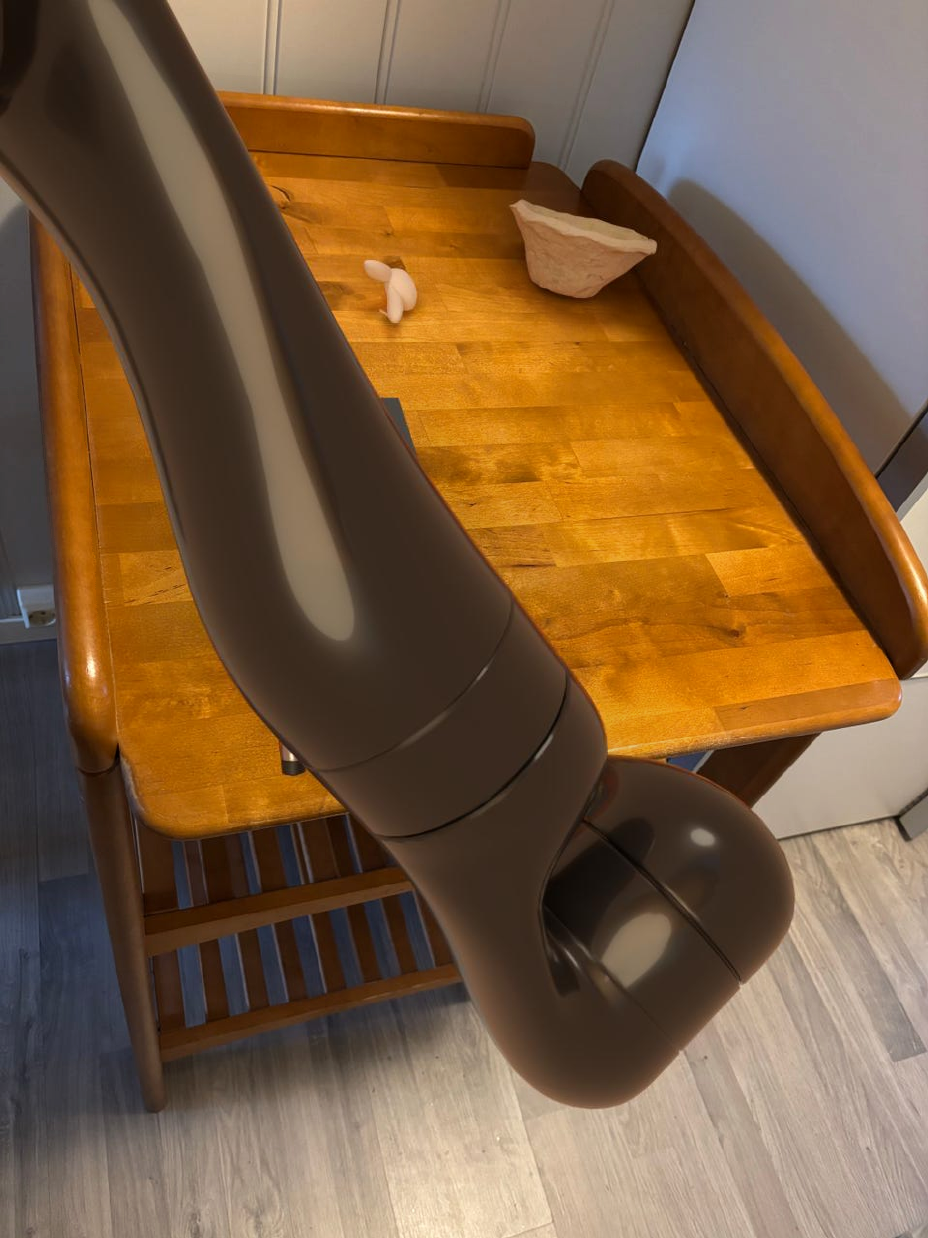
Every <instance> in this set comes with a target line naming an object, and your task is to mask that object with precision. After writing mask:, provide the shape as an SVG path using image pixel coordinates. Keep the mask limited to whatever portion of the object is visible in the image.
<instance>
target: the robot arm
mask: <svg viewBox="0 0 928 1238" xmlns="http://www.w3.org/2000/svg"><path fill="white" fill-rule="evenodd" d="M244 142H245V141H244V140H243V138H242V136H241V135H240V133H239V131H238V129H237V127H236V125H235V123H234V122H233V120H232V118H231V116H230V114H229V113H228V111H227V109H226V108H225V105H224V103H223V101H222V99H221V98H220V96H219V95H218V93H217V90H216V89H215V87H214V85H213V84H212V82H211V80H210V78H209V77H208V75H207V73H206V71H205V69H204V67H203V64H201V62H200V60H199V58H198V56H197V54H196V52H195V51H194V49H193V46H192V44H191V43H190V41H189V39H188V37H187V35H186V34H185V32H184V30H183V28H182V25H181V24H180V22H179V20H178V18H177V17H176V14H175V12H174V11H173V8H172V7H171V5H170V3H169V1H168V0H0V178H1V179H2V180H3V181H4V182H5V183H6V184H7V186H8V187H9V188H10V189H11V190H12V191H13V193H15V194H16V195H17V197H18V198H19V199H20V200H21V201H22V202H23V204H25V206H26V207H27V208H28V209H29V210H30V211H31V213H32V214H33V215H34V217H35V218H36V219H37V220H38V221H39V223H40V224H41V225H42V227H43V228H44V229H45V231H46V232H47V233H48V234H49V235H50V236H51V238H52V240H53V241H54V242H55V244H56V246H58V248H59V249H60V251H61V252H62V254H63V255H64V256H65V257H64V258H65V259H66V260H67V261H68V262H69V264H70V265H71V267H72V269H73V270H74V272H75V274H76V275H77V277H78V279H79V281H80V282H81V285H82V286H83V287H84V290H85V291H86V293H87V295H88V296H89V298H90V300H91V301H92V303H93V305H94V307H95V309H96V311H97V313H98V315H99V317H100V319H101V321H102V323H103V325H104V327H105V330H106V331H107V333H108V335H109V338H110V341H111V343H112V345H113V347H114V350H115V352H116V355H117V357H118V360H119V363H120V365H121V367H122V370H123V372H124V375H125V379H126V381H127V383H128V386H129V388H130V390H131V394H132V396H133V399H134V402H135V405H136V409H137V413H138V416H139V419H140V422H141V425H142V428H143V431H144V435H145V437H146V441H147V444H148V447H149V450H150V455H151V457H152V460H153V464H154V467H155V470H156V475H157V478H158V483H159V487H160V491H161V493H162V498H163V501H164V504H165V508H166V512H167V517H168V519H169V520H168V521H169V523H170V527H171V530H172V534H173V537H174V541H175V544H176V547H177V551H178V555H179V558H180V561H181V564H182V568H183V571H184V575H185V578H186V582H187V585H188V589H189V592H190V595H191V597H192V600H193V602H194V605H195V609H196V611H197V612H198V616H199V619H200V621H201V624H202V625H203V628H204V630H205V632H206V635H207V637H208V640H209V641H210V643H211V646H212V648H213V650H214V652H215V653H216V655H217V657H218V659H219V661H220V663H221V665H222V666H223V669H224V670H225V672H226V674H227V676H228V677H229V679H230V680H231V682H232V683H233V685H234V686H235V688H236V689H237V690H238V692H239V694H240V695H241V697H242V698H243V699H244V701H245V703H246V704H247V705H248V706H249V707H250V709H251V710H252V712H254V714H256V717H258V718H259V719H260V721H261V722H262V723H263V724H264V725H265V727H266V728H267V729H268V731H269V732H270V733H271V734H272V735H273V736H274V737H275V739H277V740H278V747H279V759H280V765H281V773H282V775H285V776H290V777H297V776H299V775H303V774H305V773H306V772H307V771H308V773H309V774H311V775H312V776H313V777H314V779H315V780H317V781H318V782H319V784H320V785H321V786H323V788H324V789H325V790H326V791H328V793H329V794H330V795H331V796H332V797H333V798H334V799H335V800H336V801H337V802H338V803H339V804H340V805H341V806H342V807H343V809H345V810H346V811H347V812H348V813H349V814H350V815H351V816H352V817H353V818H354V820H355V821H356V822H358V823H359V824H360V826H362V827H363V829H364V830H365V831H366V832H367V833H368V834H369V835H370V836H371V837H372V838H373V839H374V840H375V841H376V842H377V843H378V844H379V846H380V847H381V848H382V849H383V850H384V851H385V853H386V854H387V855H388V856H389V857H390V858H391V860H392V861H393V862H394V863H395V864H396V865H397V867H398V868H399V869H400V871H401V872H402V874H403V875H404V876H405V877H406V878H407V880H408V882H409V883H410V884H411V886H412V887H413V888H414V890H415V892H417V894H418V896H419V897H420V899H421V901H422V902H423V904H424V905H425V907H426V909H427V911H428V913H429V914H430V916H431V918H432V919H433V921H434V923H435V925H436V927H437V928H438V931H439V933H440V935H441V937H442V940H443V941H444V943H445V945H446V947H447V949H448V952H449V954H450V956H451V959H452V961H453V963H454V966H455V968H456V970H457V972H458V975H459V977H460V979H461V982H462V984H463V987H464V988H465V991H466V993H467V995H468V998H469V1000H470V1002H471V1004H472V1006H473V1008H474V1011H475V1012H476V1014H477V1015H478V1018H479V1020H480V1022H481V1023H482V1025H483V1028H485V1030H486V1032H487V1034H488V1036H489V1038H490V1040H491V1041H492V1043H493V1044H494V1046H495V1047H496V1049H497V1050H498V1052H499V1053H500V1054H501V1056H502V1057H503V1059H504V1060H505V1061H506V1062H507V1064H508V1066H509V1067H510V1068H511V1069H512V1070H513V1071H514V1072H515V1073H516V1074H517V1075H518V1076H519V1077H520V1078H521V1080H523V1081H524V1082H525V1083H526V1084H527V1085H528V1086H529V1087H531V1088H532V1089H534V1090H535V1091H536V1092H538V1093H539V1094H541V1095H542V1096H544V1097H546V1098H547V1099H549V1100H551V1101H553V1102H556V1103H558V1104H560V1105H564V1106H567V1107H571V1108H576V1109H585V1110H606V1109H609V1108H614V1107H620V1106H621V1105H624V1104H627V1103H629V1102H630V1101H632V1100H633V1099H635V1098H636V1097H638V1096H639V1095H640V1094H641V1093H643V1092H644V1091H646V1090H647V1089H648V1088H649V1087H650V1086H651V1085H652V1084H654V1082H655V1081H657V1079H658V1078H659V1077H660V1076H662V1074H663V1073H664V1072H665V1071H666V1070H667V1069H668V1067H669V1066H670V1065H671V1064H673V1062H674V1061H675V1060H676V1059H677V1058H678V1057H679V1055H680V1052H683V1051H684V1050H685V1049H686V1048H687V1047H688V1046H689V1045H690V1044H691V1042H693V1040H694V1039H695V1038H696V1037H697V1036H698V1035H699V1034H700V1033H701V1032H702V1031H703V1030H704V1028H705V1027H706V1026H707V1025H708V1024H709V1023H710V1022H711V1021H712V1020H713V1019H714V1018H715V1017H716V1015H718V1013H719V1012H720V1011H721V1010H722V1009H723V1008H724V1007H725V1006H726V1005H727V1004H728V1002H729V1001H730V1000H731V999H732V998H733V997H734V996H735V995H736V994H737V993H738V992H739V991H740V990H741V986H744V985H746V984H747V983H748V982H749V981H750V979H752V977H753V976H754V975H756V973H758V972H759V970H760V969H761V968H762V967H763V966H764V965H765V964H766V962H767V961H768V960H769V959H770V958H771V957H772V955H774V953H775V952H776V951H777V950H778V949H779V947H780V945H781V944H782V942H784V939H785V938H786V936H787V934H788V932H789V929H790V927H791V925H792V922H793V919H794V916H795V906H796V891H795V883H794V877H793V874H792V870H791V868H790V865H789V862H788V859H787V857H786V854H785V852H784V849H783V848H782V845H781V844H780V842H779V840H778V839H777V838H776V836H775V835H774V834H773V832H772V831H771V830H770V828H769V827H768V825H767V823H765V822H764V821H763V819H762V818H761V817H760V816H759V815H758V814H757V813H756V812H755V811H754V810H753V809H752V808H751V807H750V806H748V805H747V804H746V803H745V802H744V801H743V800H742V799H740V798H739V797H738V796H736V795H734V794H733V793H731V792H730V791H729V790H727V789H725V788H724V787H723V786H720V785H718V784H717V783H715V782H714V781H712V780H710V779H708V778H706V777H704V776H702V775H699V774H697V773H695V772H692V771H690V770H688V769H685V768H683V767H681V766H678V765H676V764H672V763H668V762H665V761H661V760H657V759H652V758H647V757H640V756H632V755H626V754H625V755H624V754H613V753H611V754H610V753H609V751H608V750H609V748H608V747H609V746H608V734H607V730H606V726H605V723H604V720H603V718H602V715H601V713H600V710H599V709H598V707H597V705H596V704H595V701H594V700H593V698H592V696H591V695H590V694H589V692H588V691H587V689H586V688H585V686H584V685H583V684H582V682H581V681H580V679H579V677H577V675H576V674H575V672H574V671H573V670H572V668H571V667H570V666H569V665H568V662H566V661H565V660H564V658H563V656H561V655H560V653H559V651H558V650H557V649H556V647H555V646H554V644H553V643H552V642H551V640H550V639H549V638H548V637H547V636H546V634H545V633H544V631H543V629H541V627H540V626H539V624H538V623H537V622H536V620H535V619H534V617H532V615H531V614H530V613H529V611H528V610H527V608H526V607H525V606H524V604H523V603H522V602H521V601H520V599H519V598H518V596H517V595H516V594H515V592H514V591H513V589H512V588H511V587H510V586H509V585H508V583H507V582H506V580H505V579H504V578H503V576H502V575H501V574H500V573H499V571H498V570H497V569H496V567H495V566H494V565H493V563H492V562H491V561H490V559H489V558H488V557H487V555H486V554H485V553H484V551H483V550H482V549H481V547H480V546H479V545H478V544H477V542H476V541H475V539H474V538H473V537H472V535H471V534H470V533H469V531H468V530H467V529H466V527H465V526H464V524H463V523H462V522H461V520H460V519H459V517H458V516H457V515H456V513H455V512H454V510H453V509H452V508H451V505H450V504H449V503H448V501H447V500H446V499H445V498H444V496H443V494H442V493H441V491H440V490H439V489H438V487H437V486H436V485H435V483H434V482H433V481H432V479H431V478H430V475H428V474H427V473H428V472H427V471H426V470H425V469H424V467H423V465H422V463H421V462H420V460H419V458H418V459H417V458H416V456H415V455H414V453H413V452H412V450H411V449H410V447H409V445H408V444H407V442H406V441H405V439H404V438H403V436H402V435H401V433H400V431H399V430H398V428H397V426H396V425H395V423H394V421H393V419H392V418H391V416H390V414H389V413H388V411H387V409H386V407H385V406H384V404H383V402H382V400H381V399H380V398H381V397H380V395H379V394H378V392H377V390H376V388H375V387H374V385H373V383H372V381H371V380H370V378H369V376H368V374H367V372H366V371H365V369H364V367H363V366H362V364H361V362H360V360H359V358H358V355H356V353H355V351H354V349H353V347H352V346H351V344H350V342H349V340H348V338H347V336H346V335H345V333H344V331H343V329H342V327H341V326H340V324H339V322H338V320H337V318H336V316H335V315H334V313H333V311H332V309H331V307H330V305H329V303H328V301H327V299H326V298H325V295H324V293H323V292H322V289H321V288H320V286H319V284H318V282H317V280H316V278H315V276H314V274H313V272H312V271H311V270H312V269H310V267H309V265H308V262H307V261H306V259H305V256H304V255H303V253H302V251H301V249H300V247H299V245H298V243H297V241H296V240H295V237H294V235H293V234H292V232H291V229H290V228H289V226H288V224H287V222H286V221H285V220H286V219H285V218H284V216H283V214H282V213H281V211H280V209H279V207H278V205H277V203H276V201H275V199H274V198H273V195H272V194H271V192H270V190H269V189H268V186H267V184H266V182H265V181H264V178H263V177H262V174H261V173H260V171H259V169H258V168H257V166H256V163H255V162H254V159H253V157H252V156H251V154H250V152H249V150H248V148H247V146H246V145H245V143H244ZM418 460H419V461H418Z"/></svg>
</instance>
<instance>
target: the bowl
mask: <svg viewBox="0 0 928 1238" xmlns="http://www.w3.org/2000/svg"><path fill="white" fill-rule="evenodd" d="M509 210H511V211H512V213H513V216H514V219H515V221H516V224H517V227H518V229H519V230H520V234H521V236H522V239H523V242H524V251H525V260H526V265H527V270H528V275H529V278H530V280H531V281H532V282H533V283H534V284H535V285H537V286H538V287H539V288H541V289H547V290H549V291H551V292H553V293H556V294H557V295H564V296H567V297H572V298H575V299H585V298H586V299H587V298H588V299H589V298H592V297H594V296H596V295H597V294H598V293H599V292H600V291H601V290H602V288H604V287H605V286H607V285H608V284H609V283H611V282H612V281H615V280H616V279H617V278H620V277H621V276H622V275H624V274H625V273H627V272H628V271H629V270H631V269H632V268H633V267H634V266H635V265H637V264H638V263H640V262H642V261H643V260H644V259H645V258H646V257H648V256H650V255H651V256H652V255H655V254H656V253H657V248H658V243H657V241H656V240H654V239H652V238H648V237H647V236H645V235H643V234H640V233H639V232H636V231H635V230H634V229H632V228H631V229H630V228H628V227H623V226H619V225H615V224H611V223H610V222H606V221H603V220H601V219H598V218H593V217H585V216H577V215H572V214H571V213H569V212H568V213H566V212H558V211H556V210H554V209H553V210H552V209H550V208H547V207H544V206H541V205H536V204H532V203H531V202H529V201H527V200H525V199H520V200H518V201H517V202H515V203H513V204H509Z"/></svg>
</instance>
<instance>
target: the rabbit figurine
mask: <svg viewBox="0 0 928 1238" xmlns="http://www.w3.org/2000/svg"><path fill="white" fill-rule="evenodd" d="M363 269H364V271H365V273H366V275H367V276H369V278H371V279H373V280H375V281H378V282H383V287H384V292H385V295H386V300H387V301H386V302H387V304H386V311H384V310H383V309H381V308H379V312H380V313H381V314H383V315H384V316H386V317H387V318H388V320H389V321H390V323H392V324H398V323H400V322H401V321H402V318H403V313H404V311H405V312H406V311H411V310H413V309H414V307H415V306H416V303H417V301H418V291H417V288H416V284H415V282H414V280H413V278H412V277H411V276H410V274H409V273H408V272H407V271H406V270H404V269H401V268H397V267H395V268H391V267H390V266H389V265H387V264H385V263H384V262H381V261H379V260H375V259H367V260H365V261H364V262H363Z"/></svg>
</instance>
